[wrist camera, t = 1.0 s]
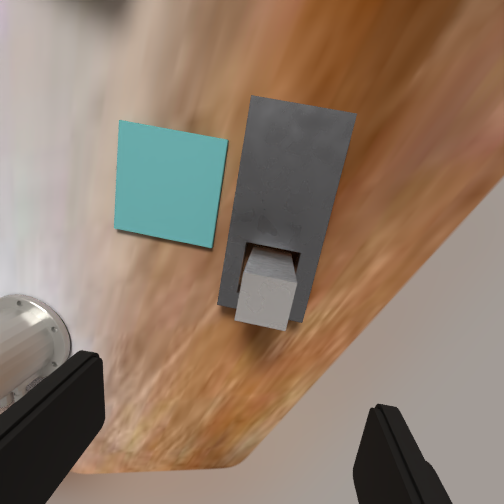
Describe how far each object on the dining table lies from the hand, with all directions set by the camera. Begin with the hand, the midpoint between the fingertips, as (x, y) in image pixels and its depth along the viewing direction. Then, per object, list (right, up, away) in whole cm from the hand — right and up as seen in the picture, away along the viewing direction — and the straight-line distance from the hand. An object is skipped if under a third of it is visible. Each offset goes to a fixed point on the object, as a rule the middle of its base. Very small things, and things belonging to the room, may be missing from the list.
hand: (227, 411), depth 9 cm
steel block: (+3, +4, +22) cm, 23 cm away
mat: (-9, +13, +21) cm, 26 cm away
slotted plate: (+4, +9, +21) cm, 23 cm away
